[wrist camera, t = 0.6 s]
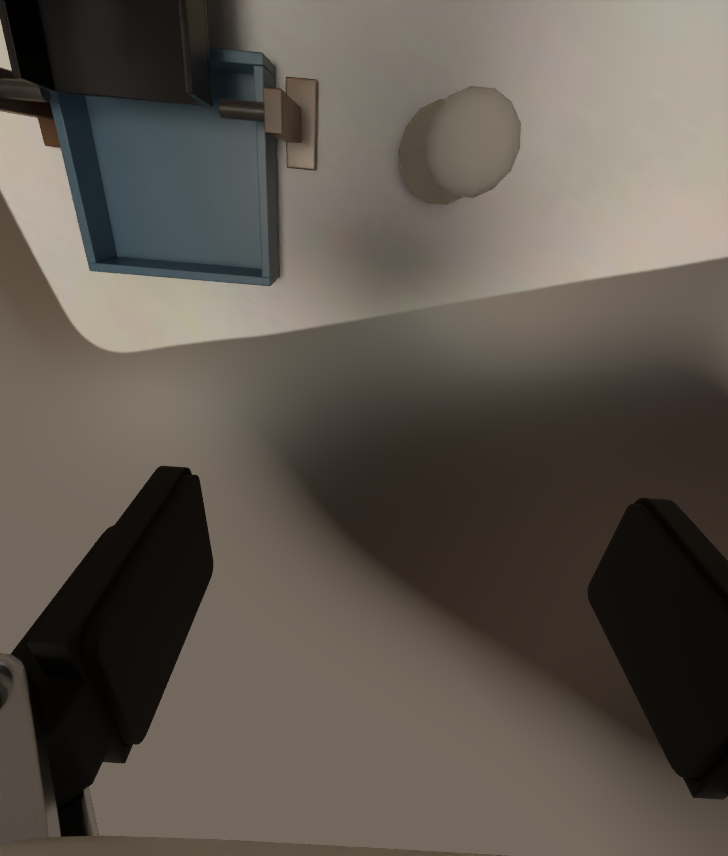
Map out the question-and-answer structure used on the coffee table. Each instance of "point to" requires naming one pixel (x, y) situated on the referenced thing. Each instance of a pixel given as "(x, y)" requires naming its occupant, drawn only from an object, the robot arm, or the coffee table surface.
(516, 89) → the coffee table surface
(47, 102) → the stand
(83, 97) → the tray
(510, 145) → the salt shaker
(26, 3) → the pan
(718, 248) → the coffee table surface
